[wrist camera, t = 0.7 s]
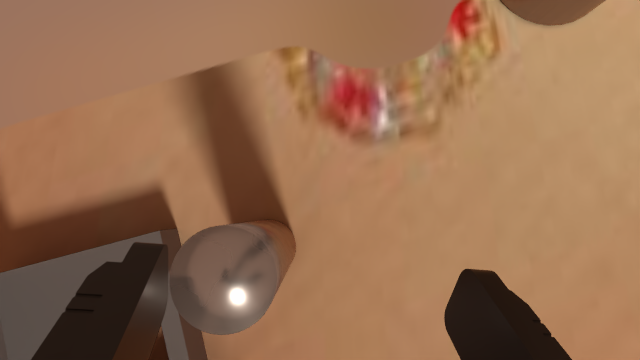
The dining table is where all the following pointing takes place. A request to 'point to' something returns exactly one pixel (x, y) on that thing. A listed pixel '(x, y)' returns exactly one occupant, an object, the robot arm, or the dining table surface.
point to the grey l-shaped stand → (61, 286)
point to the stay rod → (230, 274)
